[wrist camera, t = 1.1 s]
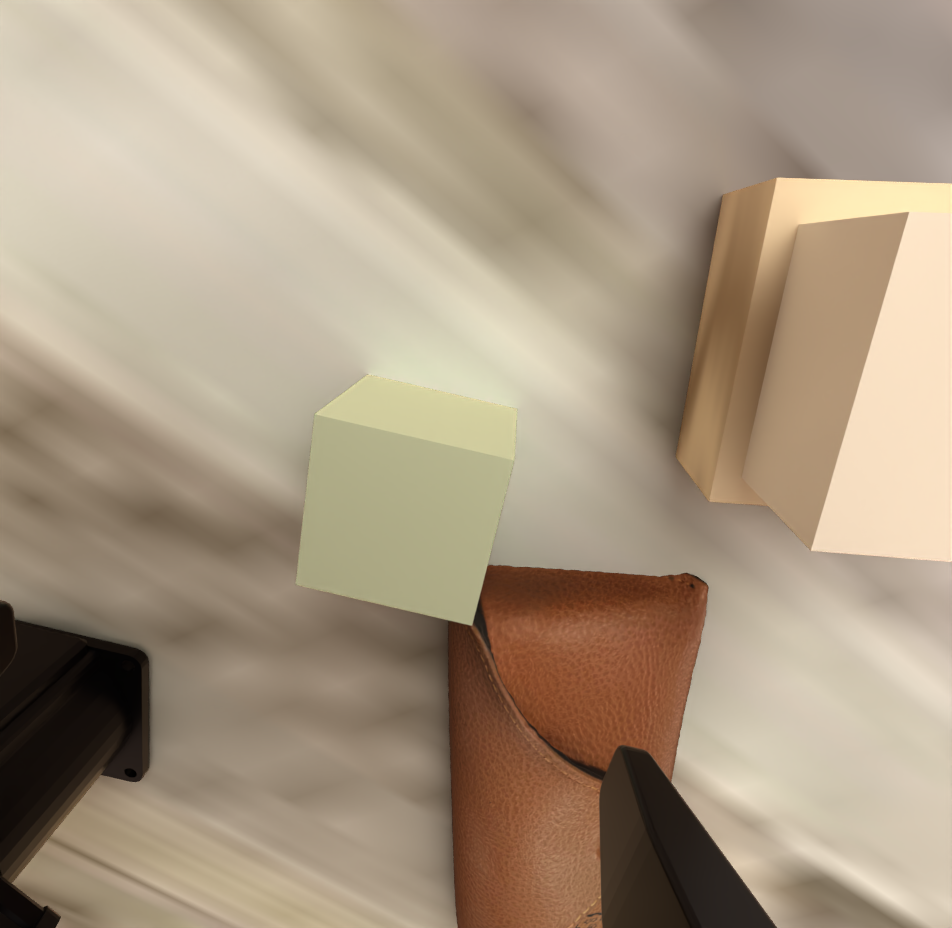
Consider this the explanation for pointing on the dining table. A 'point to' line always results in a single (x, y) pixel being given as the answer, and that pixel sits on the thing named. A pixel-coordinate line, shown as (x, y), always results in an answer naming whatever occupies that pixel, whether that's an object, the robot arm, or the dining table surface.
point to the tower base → (761, 310)
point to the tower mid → (862, 390)
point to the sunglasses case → (557, 729)
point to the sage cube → (405, 497)
